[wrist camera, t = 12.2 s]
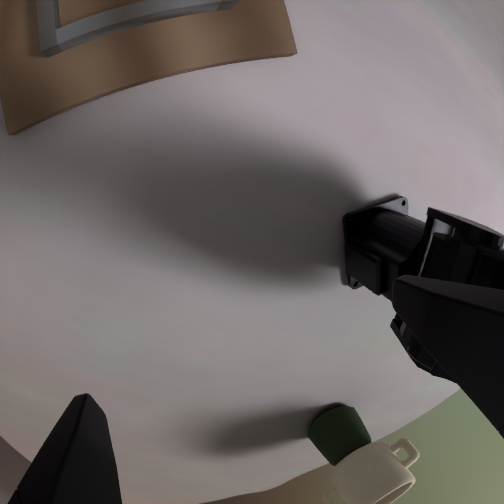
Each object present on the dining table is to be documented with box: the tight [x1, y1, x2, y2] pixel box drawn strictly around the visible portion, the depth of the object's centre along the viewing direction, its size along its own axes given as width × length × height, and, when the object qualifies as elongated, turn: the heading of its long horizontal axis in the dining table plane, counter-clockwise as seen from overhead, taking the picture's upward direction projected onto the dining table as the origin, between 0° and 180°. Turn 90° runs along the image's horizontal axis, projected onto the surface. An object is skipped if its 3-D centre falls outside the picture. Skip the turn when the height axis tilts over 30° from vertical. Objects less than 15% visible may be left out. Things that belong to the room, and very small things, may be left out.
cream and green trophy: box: [308, 406, 420, 504], centre depth 26 cm, size 11×7×13 cm, turn 128°
